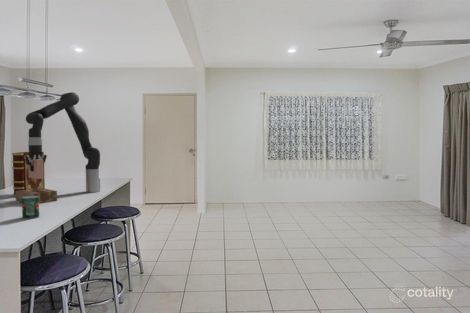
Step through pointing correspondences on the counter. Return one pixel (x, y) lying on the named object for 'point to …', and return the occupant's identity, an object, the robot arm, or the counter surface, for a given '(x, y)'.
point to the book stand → (43, 194)
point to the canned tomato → (30, 207)
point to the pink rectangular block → (37, 169)
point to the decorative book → (24, 174)
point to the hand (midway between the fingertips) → (35, 170)
